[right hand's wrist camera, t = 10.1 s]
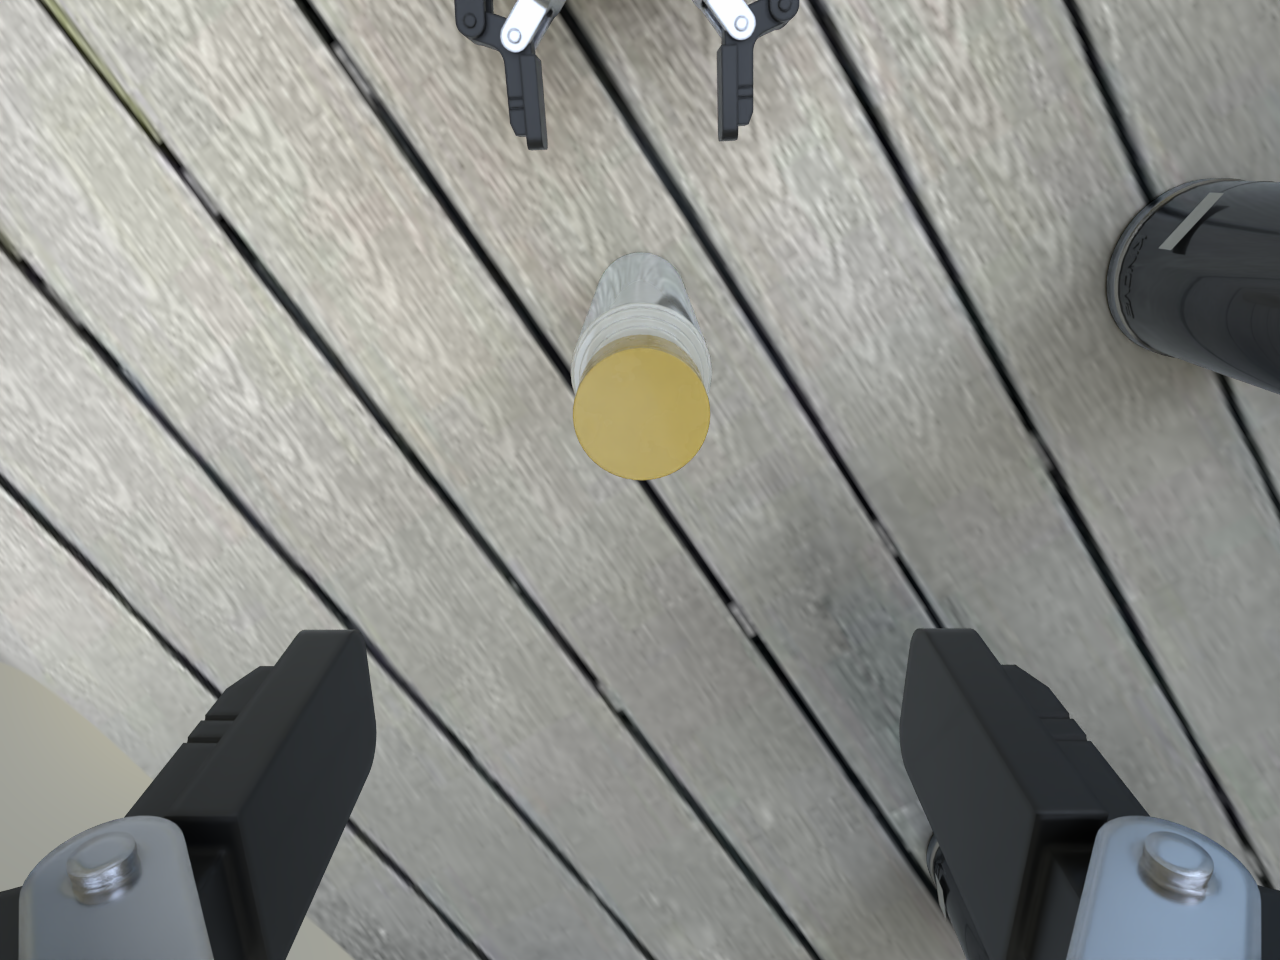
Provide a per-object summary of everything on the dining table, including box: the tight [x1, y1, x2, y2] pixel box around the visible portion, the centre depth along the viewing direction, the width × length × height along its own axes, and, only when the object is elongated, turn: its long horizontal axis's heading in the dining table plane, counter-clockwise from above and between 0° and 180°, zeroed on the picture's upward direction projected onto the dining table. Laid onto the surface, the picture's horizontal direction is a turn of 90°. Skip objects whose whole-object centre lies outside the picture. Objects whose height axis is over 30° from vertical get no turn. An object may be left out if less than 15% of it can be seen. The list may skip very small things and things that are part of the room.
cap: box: [573, 334, 710, 480], centre depth 25 cm, size 4×4×2 cm
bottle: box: [571, 252, 712, 396], centre depth 35 cm, size 5×5×23 cm
